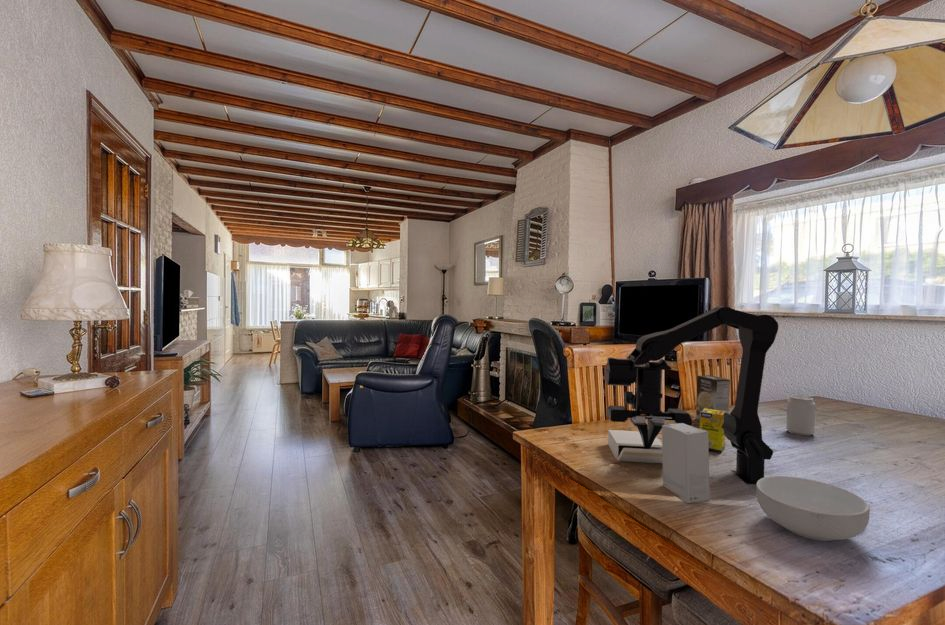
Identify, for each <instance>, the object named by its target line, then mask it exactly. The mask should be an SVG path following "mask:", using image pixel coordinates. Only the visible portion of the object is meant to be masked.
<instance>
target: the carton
mask: <svg viewBox="0 0 945 625" xmlns="http://www.w3.org/2000/svg"><path fill="white" fill-rule="evenodd" d="M607 436H608V438H607V445H608V447H609V448H610V450H611V452H612V454H613V456H614V458H615V459H616V460H617V458H618V457H619V447H623V446H625V447H636V448H637V447H640V448H642V447H643V448H644V445H643V442H642V439H641V435H640V432H639V430H638V431H636V430H635V431H634V430H622V429H621V430H620V429H619V430H618V429H616V430H615V429H608V433H607ZM650 449H655V450H662V441H661V440H660V439H659V438H658V436H656V438H655V440H654V442H653V444H652V446H651V448H650Z"/></svg>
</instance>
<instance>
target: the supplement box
mask: <svg viewBox="0 0 945 625" xmlns="http://www.w3.org/2000/svg"><path fill="white" fill-rule="evenodd" d="M724 412H726V411H720V410H713V409H707V408H704V409H703V410H702V411H701V412H700V420H699V429H701V430H704V431H707V432H708V448H709V450H711V451H710V452H713V451H716V452H715V453H718V452H721V453H720V454H722V453H723V451H724V449H725V447H726V446H725V445H726V436H725V435H724V429H723V428H721V426H722V425H723V422H724Z"/></svg>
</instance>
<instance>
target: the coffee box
mask: <svg viewBox="0 0 945 625" xmlns="http://www.w3.org/2000/svg"><path fill="white" fill-rule="evenodd" d="M730 387H731V380H730V379H729V378H724V377H721V376H717V375H712V374H708V375H707V374H706V375H697V376H696V398H695V399H696V402H695V405H696V406H695V420H698V421H700V412H701V411H702V410H703V409H704V408H707V409H713V410H720V411H726V413H729V414H730Z"/></svg>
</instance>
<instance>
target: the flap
mask: <svg viewBox="0 0 945 625" xmlns="http://www.w3.org/2000/svg"><path fill="white" fill-rule="evenodd" d="M616 460H617V461H618V462H630V463H631V462H633V463H645V464H646V463H647V464H661V465H663V453H662V450H655V449H651V448H650V449H644V448H637V447H635V448H633V447H623V448H622V450H621V452H620V453H619V454H618V458H617V459H616Z"/></svg>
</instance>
